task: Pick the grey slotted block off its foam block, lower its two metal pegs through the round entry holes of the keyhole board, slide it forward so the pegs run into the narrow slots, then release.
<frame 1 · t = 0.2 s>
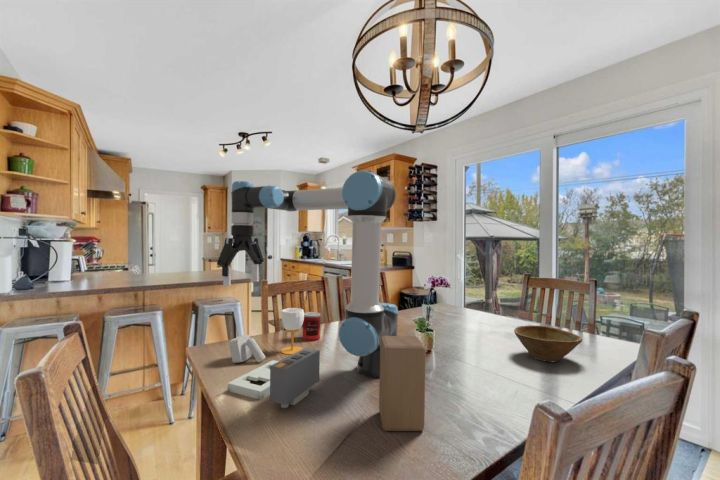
hand: (241, 283, 122), 28 cm above the table, fingers open, 13 cm apart
bowl: (546, 359, 129), on the table
wooden block: (400, 421, 84), on the table
keyhole board: (267, 383, 103), on the table
cup: (292, 351, 133), on the table
foam block: (296, 400, 93), on the table
grey slotted block: (296, 398, 93), point 1 cm above the table, touching foam block
canned food: (311, 338, 149), on the table
wall hook: (249, 361, 121), on the table
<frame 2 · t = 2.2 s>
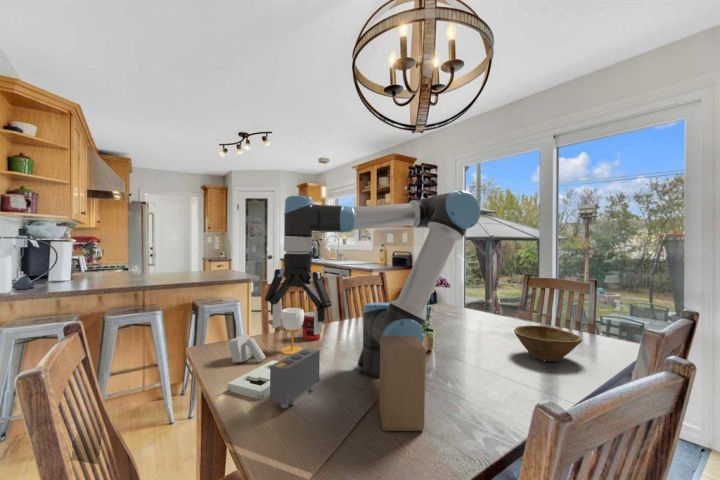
hand: (296, 330, 93), 19 cm above the table, fingers open, 13 cm apart
nothing on the table moved.
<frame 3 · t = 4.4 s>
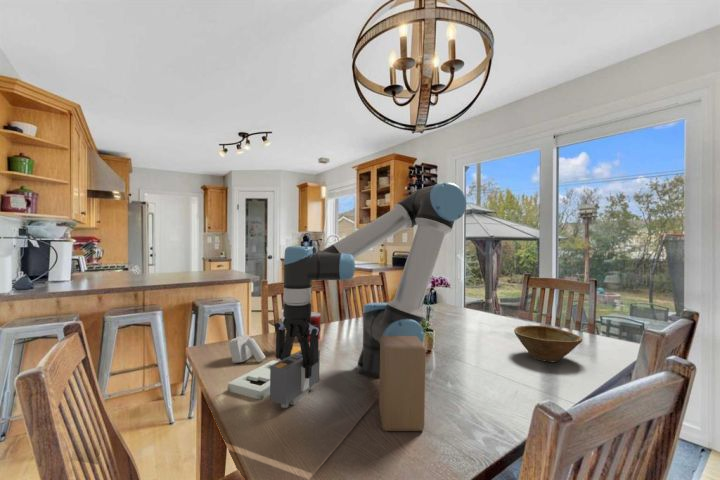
hand: (296, 386, 93), 4 cm above the table, fingers closed on grey slotted block, 5 cm apart
grey slotted block: (296, 398, 93), point 1 cm above the table, touching foam block, gripper
everything else where it was.
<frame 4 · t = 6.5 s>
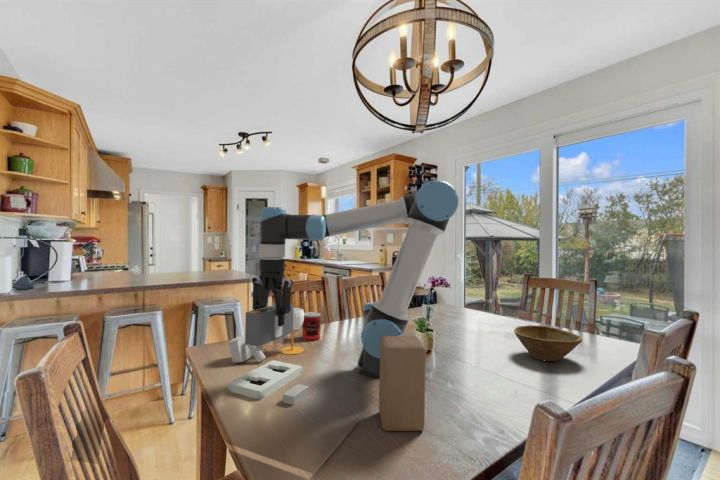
hand: (270, 334, 102), 15 cm above the table, fingers closed on grey slotted block, 5 cm apart
grey slotted block: (270, 344, 102), point 12 cm above the table, touching gripper
everything else where it was.
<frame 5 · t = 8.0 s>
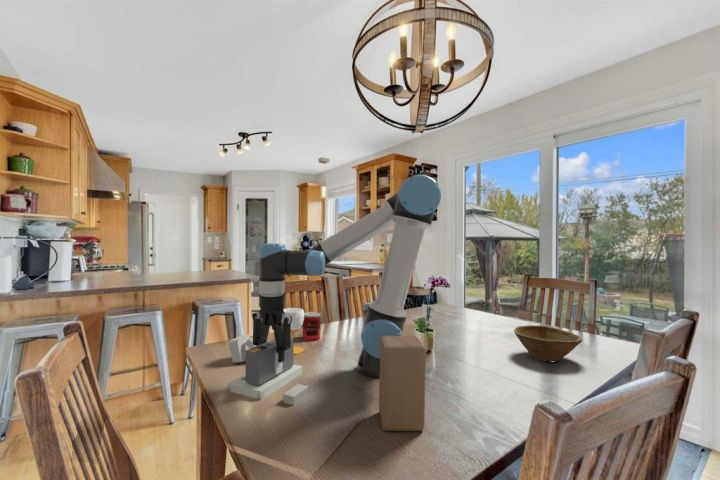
hand: (270, 370, 103), 4 cm above the table, fingers closed on grey slotted block, 5 cm apart
grey slotted block: (270, 380, 103), point 1 cm above the table, touching gripper
everything else where it was.
when the fingers open (4 cm above the table, at t = 9.1 s): grey slotted block stays where it is, resting on keyhole board.
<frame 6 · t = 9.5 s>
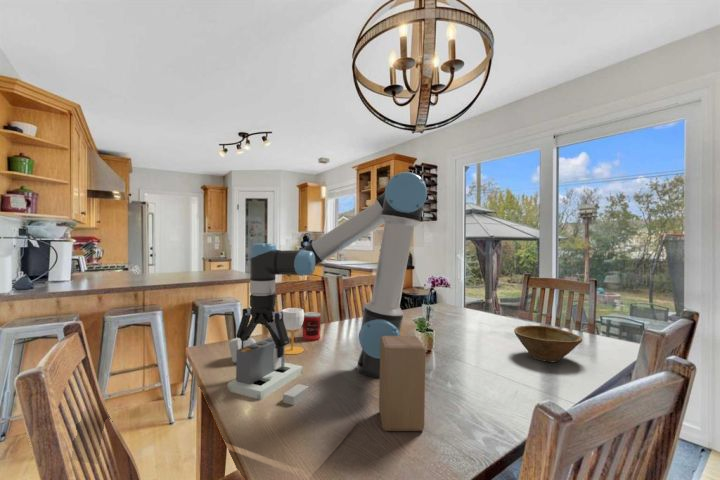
hand: (261, 364, 104), 6 cm above the table, fingers open, 11 cm apart
grey slotted block: (261, 379, 104), point 1 cm above the table, touching keyhole board
everything else where it was.
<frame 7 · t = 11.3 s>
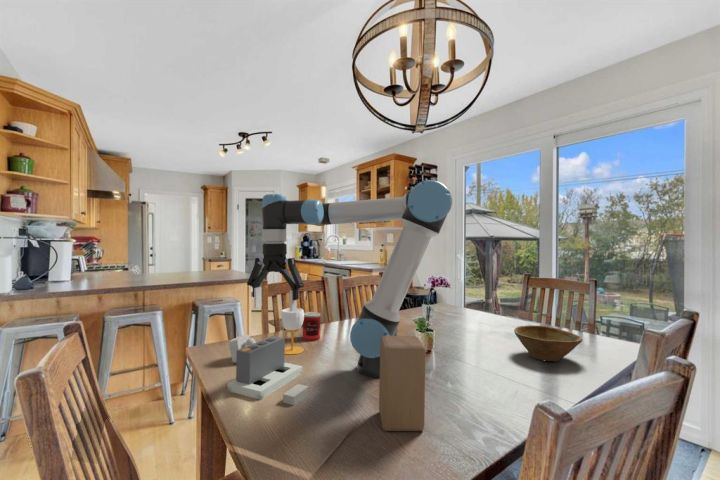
hand: (275, 308, 109), 22 cm above the table, fingers open, 13 cm apart
nothing on the table moved.
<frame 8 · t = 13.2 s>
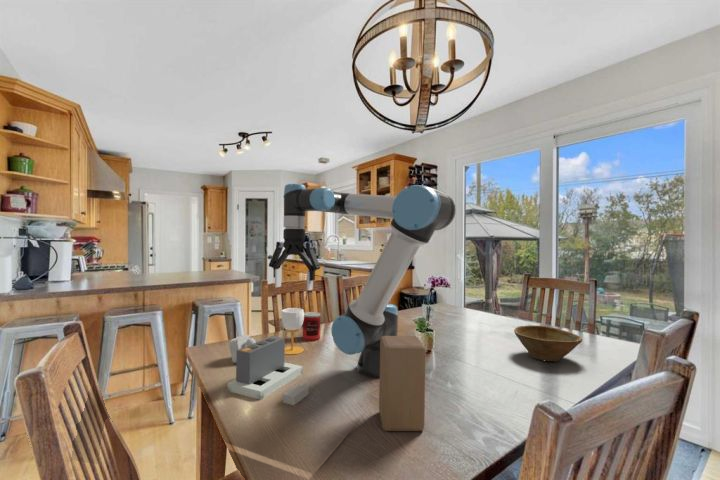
hand: (293, 288, 120), 27 cm above the table, fingers open, 13 cm apart
nothing on the table moved.
at the end: grey slotted block 0.1 cm from the target spot on the keyhole board, point 0.8 cm above the keyhole board's base; grey slotted block tilted 0°; the gripper is holding nothing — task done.
